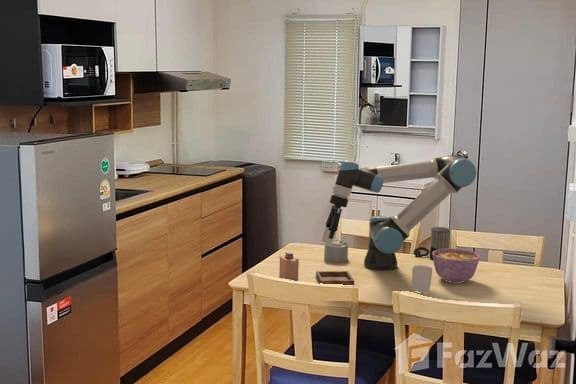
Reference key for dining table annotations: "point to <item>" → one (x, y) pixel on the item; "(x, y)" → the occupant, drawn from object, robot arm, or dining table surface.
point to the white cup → (421, 278)
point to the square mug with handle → (289, 268)
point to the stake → (289, 255)
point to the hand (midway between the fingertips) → (326, 243)
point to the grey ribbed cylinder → (436, 241)
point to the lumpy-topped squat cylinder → (336, 251)
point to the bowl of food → (455, 264)
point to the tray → (334, 277)
